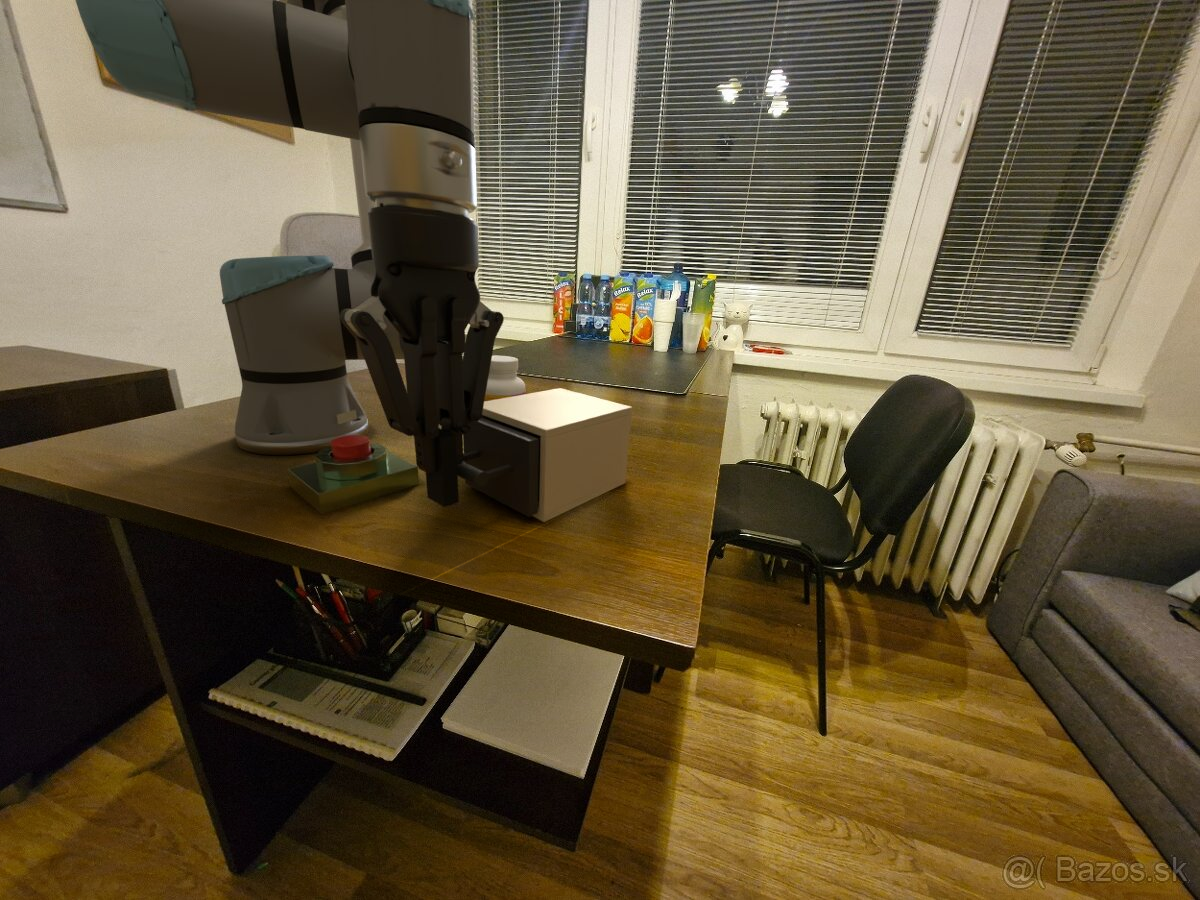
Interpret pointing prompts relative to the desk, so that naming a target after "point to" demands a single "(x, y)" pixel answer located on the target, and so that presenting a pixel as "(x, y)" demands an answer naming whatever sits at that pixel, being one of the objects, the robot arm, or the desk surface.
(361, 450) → the button
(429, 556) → the desk surface
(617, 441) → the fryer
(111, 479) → the desk surface
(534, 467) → the drawer
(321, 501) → the block
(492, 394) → the supplement bottle
